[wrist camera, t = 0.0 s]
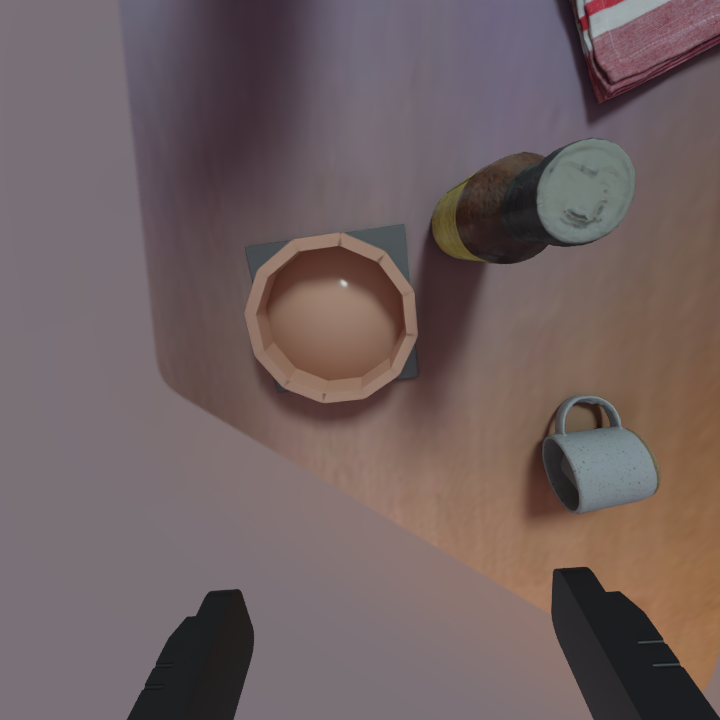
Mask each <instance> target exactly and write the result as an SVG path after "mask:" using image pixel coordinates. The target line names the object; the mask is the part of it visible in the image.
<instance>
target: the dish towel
mask: <svg viewBox="0 0 720 720" xmlns="http://www.w3.org/2000/svg"><path fill="white" fill-rule="evenodd" d="M569 2H570V4H571V7H572V10H573V15H574V19H575V23H576V26H577V29H578V32H579V36H580V40H581V45H582V49H583V53H584V56H585V58H586V62H587V67H588V71H589V76H590V79H591V83H592V86H593V93H594V97H595V99H596V102H597V103H599V104H600V103H602V102H604V101H606V100H609V99H611V98H613V97H616V96H618V95H620V94H622V93H624V92H626V91H628V90H630V89H632V88H634V87H636V86H638V85H640V84H642V83H644V82H646V81H648V80H650V79H652V78H654V77H657V76H659V75H661V74H662V73H664V72H666V71H668V70H670V69H672V68H673V67H675V66H677V65H679V64H681V63H683V62H685V61H686V60H688V59H690V58H692V57H694V56H696V55H698V54H700V53H702V52H704V51H706V50H708V49H709V48H711V47H713V46H715V45H717V44H719V43H720V0H569Z"/></svg>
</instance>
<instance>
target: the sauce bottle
mask: <svg viewBox="0 0 720 720" xmlns="http://www.w3.org/2000/svg"><path fill="white" fill-rule="evenodd" d="M634 189H635V170H634V167H633V165H632V163H631V159H630V158H629V156H628V155H627V154H626V152H625V151H624V150H623V149H622V148H621V147H620V146H618V145H616V144H615V143H612V142H610V141H608V140H604V139H597V138H589V139H584V140H579V141H576V142H573V143H571V144H568V145H566V146H564V147H562V148H559V149H558V150H556V151H554V152H552V153H551V154H550V155H548V156H547V157H544V156H543V155H539V154H534V153H529V152H522V153H519V154H513V155H510V156H507V157H504V158H502V159H500V160H498V161H496V162H494V163H493V164H490V165H488V166H486V167H484V168H482V169H480V170H479V171H477V172H476V173H474V174H473V175H471V176H470V177H468V178H467V179H465V180H464V181H463V182H461V183H460V184H458V185H457V186H455V187H454V188H452V189H451V190H449V191H448V192H447V194H446V195H444V196H443V197H442V198H441V199H440V201H439V202H438V204H437V206H436V208H435V210H434V212H433V217H432V222H431V231H432V234H433V237H434V239H435V242H436V244H437V245H438V247H439V248H440V249H441V250H442V251H444V252H445V253H446V254H448V255H450V256H452V257H454V258H458V259H463V260H472V261H477V262H488V263H497V264H512V263H518V262H522V261H525V260H527V259H530V258H532V257H534V256H535V255H537V254H538V253H540V252H541V251H542V250H544V249H545V248H546V247H547V246H548V244H550V245H553V246H562V247H570V246H576V245H585V244H588V243H591V242H594V241H596V240H598V239H600V238H602V237H604V236H606V235H607V234H609V233H610V232H611V231H612V230H614V229H615V228H616V227H617V226H618V225H619V224H620V222H621V221H622V220H623V219H624V217H625V215H626V213H627V211H628V209H629V207H630V205H631V203H632V200H633V198H634Z"/></svg>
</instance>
